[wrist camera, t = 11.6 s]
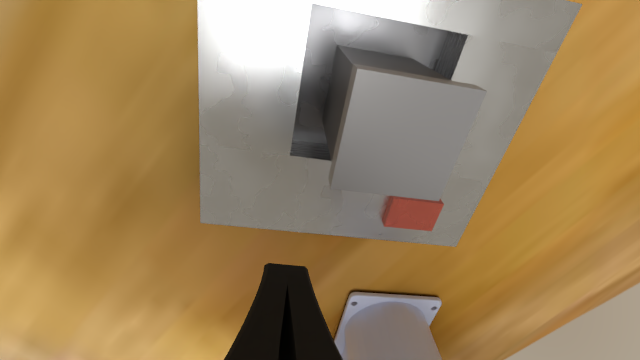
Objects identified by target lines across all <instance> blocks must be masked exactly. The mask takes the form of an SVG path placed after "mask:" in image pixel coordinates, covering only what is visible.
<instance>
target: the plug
mask: <svg viewBox="0 0 640 360" xmlns="http://www.w3.org/2000/svg"><path fill="white" fill-rule="evenodd" d="M486 93H487V91H486V90H484V89H482V88H480V87H478V86H476V85H473V84H467V83H462V82H456V81H451V80H450V79H448V78H446V77H444V76H443V75H441V74H439V73H437V72H436V71H434V70H432V69H430V68H428V67H427V66H425V65H423V64H421V63H420V62H418V61H416V60H414V59H412V58H407V57H401V56H396V55H390V54H385V53H379V52H374V51H368V50H363V49H357V48H352V47H347V46H341V45H337V47H336V52H335V57H334V63H333V68H332V73H331V79H330V84H329V89H328V95H327V100H326V105H325V110H324V116H323V126H324V130H325V135H326V139H327V144H328V148H329V153H330V158H331V162H332V163H331V168H330V172H329V177H328V180H329V185H330V189H336V190H345V191H353V192H362V193H371V194H380V195H389V196H398V197H406V198H415V199H424V200H433V201H439V200H440V197H441V195H442V193H443V190H444V188H445V186H446V184H447V181H448V179H449V177H450V175H451V172H452V170H453V168H454V165H455V163H456V161H457V159H458V156H459V154H460V152H461V150H462V147H463V145H464V143H465V140H466V138H467V136H468V134H469V131H470V129H471V127H472V125H473V122H474V120H475V118H476V115H477V113H478V111H479V109H480V106H481V104H482V102H483V100H484V97H485V95H486Z"/></svg>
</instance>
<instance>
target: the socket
mask: <svg viewBox="0 0 640 360" xmlns="http://www.w3.org/2000/svg"><path fill="white" fill-rule="evenodd" d="M581 6H582V4H579V3H575V2H570V1H566V0H198V70H199V145H200V221H201V223H207V224H218V225H228V226H239V227H250V228H261V229H271V230H282V231H293V232H304V233H314V234H325V235H336V236H347V237H357V238H368V239H379V240H390V241H400V242H411V243H422V244H433V245H443V246H454V247H456V245H457V244H458V242H459V240H460V238H461V236H462V234H463V232H464V230H465V228H466V226H467V224H468V222H469V221H470V219H471V217H472V215H473V213H474V211H475V209H476V207H477V205H478V203H479V201H480V199H481V198H482V196H483V194H484V192H485V190H486V188H487V186H488V184H489V182H490V180H491V178H492V176H493V175H494V173H495V171H496V169H497V167H498V165H499V163H500V161H501V159H502V157H503V155H504V153H505V152H506V150H507V148H508V146H509V144H510V142H511V140H512V138H513V136H514V134H515V132H516V130H517V128H518V127H519V125H520V123H521V121H522V119H523V117H524V115H525V113H526V111H527V109H528V107H529V105H530V104H531V102H532V100H533V98H534V96H535V94H536V92H537V90H538V88H539V86H540V84H541V82H542V81H543V79H544V77H545V75H546V73H547V71H548V69H549V67H550V65H551V63H552V61H553V59H554V58H555V56H556V54H557V52H558V50H559V48H560V46H561V44H562V42H563V40H564V38H565V36H566V35H567V33H568V31H569V29H570V27H571V25H572V23H573V21H574V19H575V17H576V15H577V13H578V12H579V10H580V8H581ZM337 45H341V46H347V47H352V48H357V49H363V50H368V51H374V52H379V53H385V54H390V55H396V56H401V57H407V58H412V59H414V60H416V61H418V62H420V63H421V64H423V65H425V66H427V67H428V68H430V69H432V70H434V71H436V72H437V73H439V74H441V75H443V76H444V77H446V78H448V79H450V80H451V81H456V82H462V83H467V84H473V85H476V86H478V87H480V88H482V89H484V90H486V91H487V93H486V95H485V97H484V100H483V102H482V104H481V106H480V109H479V111H478V113H477V115H476V118H475V120H474V122H473V125H472V127H471V129H470V131H469V134H468V136H467V138H466V140H465V143H464V145H463V147H462V150H461V152H460V154H459V156H458V159H457V161H456V163H455V165H454V168H453V170H452V172H451V175H450V177H449V179H448V181H447V184H446V186H445V188H444V190H443V193H442V195H441V197H440V200H439V201H433V200H424V199H415V198H406V197H398V196H389V195H380V194H371V193H362V192H353V191H345V190H336V189H330V185H329V180H328V177H329V172H330V168H331V163H332V162H331V158H330V153H329V148H328V144H327V139H326V135H325V130H324V126H323V116H324V110H325V105H326V100H327V95H328V89H329V84H330V79H331V73H332V68H333V63H334V57H335V52H336V47H337Z"/></svg>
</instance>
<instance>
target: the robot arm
mask: <svg viewBox="0 0 640 360" xmlns="http://www.w3.org/2000/svg"><path fill="white" fill-rule="evenodd" d="M441 304H442V302H441V300H440V298H438V297H426V296H411V295H396V294H381V293H366V292H353V293H351V294H350V295H349V297H348V300H347V303H346V306H345V309H344V312H343V315H342V318H341V321H340V324H339V327H338V330H337V334H336V337H335V340H333V338H332V336H331V333H330V331H329V329H328V327H327V324H326V322H325V319H324V317H323V315H322V312H321V310H320V307H319V305H318V302H317V299H316V296H315V294H314V291H313V288H312V284H311V281H310V277H309V274H308V269H307V268H306V267H304V266H293V265H282V264H272V263H268V264H266V265H265V266H264V272H263V276H262V280H261V283H260V286H259V289H258V291H257V294H256V297H255V299H254V301H253V304H252V306H251V308H250V310H249V313H248V315H247V317H246V319H245V321H244V323H243V325H242V327H241V329H240V331H239V333H238V335H237V337H236V339H235V341H234V343H233V345H232V346H231V348H230V350H229V352H228V354H227V355H226V357H225V359H224V360H442V358H441V356H440V353H439V351H438V348H437V346H436V343H435V341H434V338H433V336H432V333H431V331H430V328H429V326H430V324H431V322H432V320H433V319H434V317H435V315H436V313H437V311H438V310H439V308H440V306H441Z"/></svg>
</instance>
